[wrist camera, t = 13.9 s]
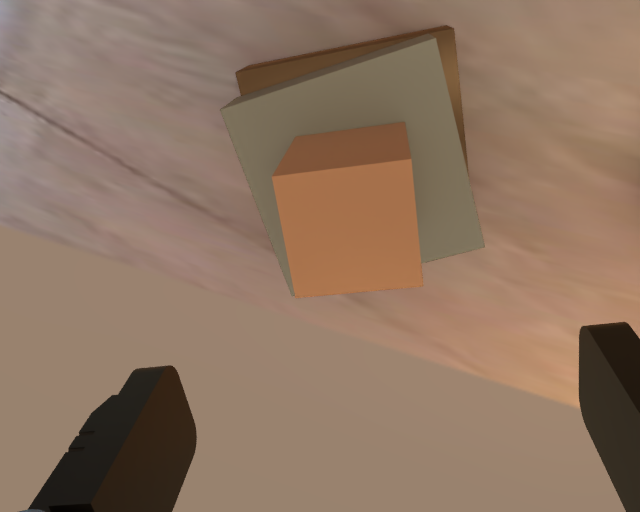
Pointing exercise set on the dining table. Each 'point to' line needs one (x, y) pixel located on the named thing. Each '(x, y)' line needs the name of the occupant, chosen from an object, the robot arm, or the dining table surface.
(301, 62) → the walnut slab
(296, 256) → the terracotta block
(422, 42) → the grey slab
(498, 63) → the dining table surface
